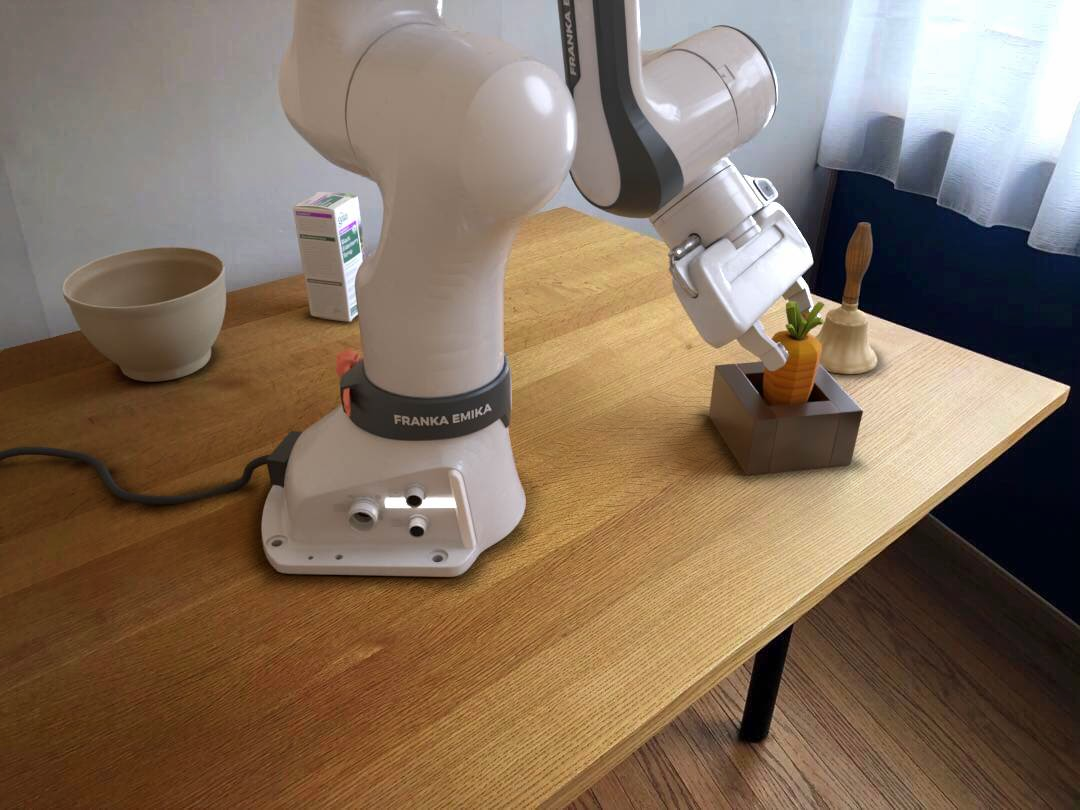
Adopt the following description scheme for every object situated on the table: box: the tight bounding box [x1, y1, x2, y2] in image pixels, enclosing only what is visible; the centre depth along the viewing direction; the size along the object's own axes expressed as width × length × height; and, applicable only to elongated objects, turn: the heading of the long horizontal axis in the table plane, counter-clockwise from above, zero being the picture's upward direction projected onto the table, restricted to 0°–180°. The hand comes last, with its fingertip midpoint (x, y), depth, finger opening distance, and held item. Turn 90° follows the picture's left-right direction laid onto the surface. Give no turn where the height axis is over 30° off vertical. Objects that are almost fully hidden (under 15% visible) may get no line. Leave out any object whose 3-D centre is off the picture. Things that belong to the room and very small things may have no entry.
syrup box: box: [292, 191, 367, 323], centre depth 106 cm, size 6×6×14 cm
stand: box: [708, 361, 864, 476], centre depth 83 cm, size 10×10×6 cm
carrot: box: [763, 301, 825, 407], centre depth 81 cm, size 5×5×15 cm
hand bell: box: [814, 221, 878, 375], centre depth 95 cm, size 8×8×16 cm
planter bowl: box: [61, 246, 227, 383], centre depth 95 cm, size 16×16×11 cm
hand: (798, 345), depth 79 cm, fingers open, 8 cm apart
